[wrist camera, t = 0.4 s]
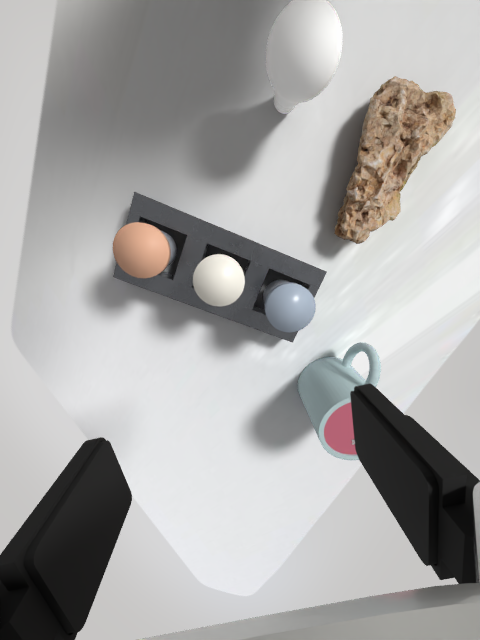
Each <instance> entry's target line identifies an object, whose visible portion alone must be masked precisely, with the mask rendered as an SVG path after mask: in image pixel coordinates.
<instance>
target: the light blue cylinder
mask: <svg viewBox="0 0 480 640" xmlns="http://www.w3.org/2000/svg"><path fill="white" fill-rule="evenodd" d="M263 302H264V304H265V313H266V316H267V318H268V320H269V322H270V323H271V325H272V326H273V327H275V328H276V329H278V330H280V331H283V332H296V331H299V330H301V329H303V328H304V327H306V326H307V325H308V324H309V323H310V321H311V320H312V318H313V316H314V313H315V300H314V297H313V296H312V294H311V293H310V291H309V290H307V289H306V288H305V287H303V286H301V285H299V284H297V283H290V282H289V281H287V280H281V279H280V280H275V281H273V282H271V283H270V284H269V285H268V286H267V287H266V288H265V290H264V293H263Z"/></svg>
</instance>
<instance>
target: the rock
mask: <svg viewBox="0 0 480 640" xmlns="http://www.w3.org/2000/svg"><path fill="white" fill-rule="evenodd" d="M455 112H456V109H455V108H454V104H453V98H452V95H451V94H449V93H447V92H438V91H433V92H429V93H425V92H423V90H421V89H420V88H419V85H418V84H415V83H414V82H413V81H408V80H406V79H400V78H398V77H396V76H395V77H393V78H392V79H390V80H388V81H387V82H386V83H385V84H382V85H381V87H380V89H379V90H378V91H377V92H375V93H374V95H373V97H372V98H371V99H370V105H369V108H368V111H367V113H366V116H365V119H364V122H363V126H362V136H361V138H360V144H359V148H358V157H357V161H358V165H357V166H356V167H355V170H354V172H353V174H352V176H351V178H350V181H349V183H348V186H347V188H346V190H347V194H346V196H345V198H344V200H343V201H344V205H343V206H342V207H341V208H340V210H339V212H338V217H339V218H338V220H337V222H338V223H337V225H336V227H335V234H336V235H337V236H338V237H341V238H343V239H350V241H353V242H355V243H356V244H359V243H362V242H364V241H365V240H366V239H367V238H368V237H369V233H370V231H374V230H376V229H378V228H379V227H381V226H383V225H384V224H385V223H386V222H387V221H389V220H392V221H393V220H394V219H395V218H396V217H397V215H398V214H399V213H400V193H399V192H400V191H401V190H402V189H403V187H404V185H405V184H406V182H407V180H408V179H409V177H410V175H411V173H412V172H413V171H414V169H415V168H416V167H417V163H418V161H419V160H420V157H421V156H423V155H425V154H427V153H428V151H429V150H430V149H431V147H433V146H435V145H436V144H437V143H438V142H439V141H440V140H441V138H442V137H443V136H444V135H445V134H446V132H447V131H448V130H449V129H450V128H451V126H452V122H453V120H454V118H455Z"/></svg>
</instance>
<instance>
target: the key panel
mask: <svg viewBox="0 0 480 640" xmlns="http://www.w3.org/2000/svg"><path fill="white" fill-rule="evenodd" d="M148 220H151V221H153V222H156V223H158V224H161V225H163V226H166V227H168V228H171V229H173V230H175V231H178V232H180V233H183V234H185V235H187V238H186V241H185V244H184V247H183V251H182V254H181V257H180V260H179V263H178V266H177V269H176V273H175V276H174V275H171V274H169V273H166V272H163V271H162V272H161V273H159V274H158V275H155V276H153V277H150V278H137V277H133V276H131V275H129V274H128V273H126V272H125V271H124V270H123V269H122V268H121V267H120V266H119V265H118V263H116V267H115V271H114V275H113V277H115V278H117V279H120V280H123V281H126V282H128V283H131V284H134V285H137V286H139V287H142V288H145V289H148V290H150V291H153V292H156V293H159V294H161V295H164V296H167V297H170V298H172V299H175V300H178V301H181V302H183V303H186V304H189V305H191V306H194V307H197V308H200V309H202V310H205V311H208V312H211V313H213V314H216V315H219V316H222V317H224V318H227V319H230V320H233V321H235V322H238V323H241V324H244V325H246V326H249V327H252V328H254V329H257V330H260V331H263V332H265V333H268V334H271V335H274V336H276V337H279V338H282V339H285V340H287V341H290V342H293V341H294V339H295V336H296V334H297V332H298V331H296V332H283V331H280V330H278V329H276V328H275V327H273V326H272V325H271V323H270V322H269V320H268V318H267V316H266V313H265V310H264V309H261V308H259V307H256V306H254V303H255V301H256V299H257V296H258V294H259V292H260V289H261V287H262V284H263V282H264V280H265V277H266V275H267V272H268V270H269V268H270V269H272V270H275V271H277V272H280V273H282V274H284V275H287V276H289V277H292V278H294V279H297V280H299V281H302V282H303V284H302V286H303V287H305V288H306V289H307V290H309V291H310V293H311V294H312V296H313V297H315V295H316V293H317V291H318V289H319V287H320V285H321V283H322V281H323V279H324V277H325V274H326V271H324V270H321V269H319V268H316V267H314V266H312V265H309V264H307V263H304V262H302V261H300V260H297V259H295V258H292V257H290V256H288V255H285V254H283V253H280V252H278V251H275V250H273V249H271V248H268V247H266V246H263V245H261V244H259V243H256V242H254V241H251V240H249V239H247V238H244V237H242V236H239V235H237V234H235V233H232V232H230V231H227V230H225V229H223V228H220V227H218V226H215V225H213V224H211V223H208V222H206V221H203V220H201V219H199V218H196V217H194V216H191V215H189V214H187V213H184V212H182V211H179V210H177V209H174V208H172V207H170V206H167V205H165V204H162V203H160V202H158V201H155V200H153V199H150V198H148V197H146V196H143V195H141V194H138V193H136V192H134V196H133V200H132V204H131V208H130V212H129V216H128V220H127V224H130V223H135V222H140V223H146V224H147V221H148ZM127 224H126V225H127ZM209 244H210V245H213V246H215V247H218V248H220V249H223V250H225V251H227V252H230V253H232V254H235V255H237V256H240V257H242V258H245V259H247V260H249V261H248V264H247V266H246V269H245V272H244V277H245V285H244V289H243V292H242V294H241V295H240V297H239V298H238V299H237V300H236V301H235V302H233V303H231V304H229V305H226V306H212V305H209V304H207V303H206V302H204V301H203V300H202V299H201V298H200V297H199V296H198V295H197V293H196V291H195V289H194V286H193V275H194V271H195V269H196V267H197V265H198V264H199V263H200V262H201V261H202V260H203V259H204V256H205V253H206V251H207V248H208V245H209Z"/></svg>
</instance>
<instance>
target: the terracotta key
mask: <svg viewBox="0 0 480 640" xmlns="http://www.w3.org/2000/svg"><path fill="white" fill-rule="evenodd" d="M113 253H114V257H115V259H116V261H117V263H118V265H119V266H120V267H121V268H122V269H123V270H124V271H125V272H126V273H128V274H129V275H131V276H133V277H137V278H150V277H153V276H155V275H158V274H159V273H161V272H162V271H163V270H164V269H165V268H166V267H167V266H169V265H170V264H171V263H172V262H173V261H174V260H175V258H176V254H177V247H176V243H175V241H174V239H173V238H172V237H171V236H170V235H169V234H168V233H166V232H164V231H162V230H159V229H158V228H156V227H155V226H152V225H150V224H146V223H140V222H135V223H130V224H127V225H125V226H123V227H122V228H121V229H120V230H119V231H118V232H117V234H116V236H115V238H114V241H113Z"/></svg>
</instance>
